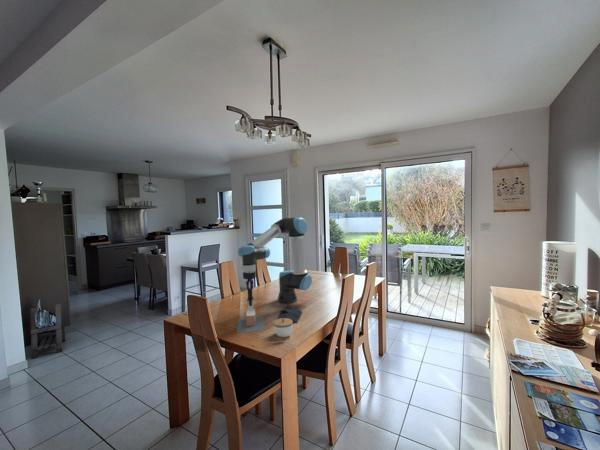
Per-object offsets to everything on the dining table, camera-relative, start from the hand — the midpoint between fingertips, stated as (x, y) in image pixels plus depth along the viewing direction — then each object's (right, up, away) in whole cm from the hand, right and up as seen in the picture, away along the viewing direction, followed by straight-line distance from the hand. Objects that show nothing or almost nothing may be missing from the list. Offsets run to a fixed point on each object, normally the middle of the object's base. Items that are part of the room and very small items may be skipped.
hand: (250, 310), depth 162 cm
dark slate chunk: (+23, -9, +14) cm, 28 cm away
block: (0, -6, -1) cm, 6 cm away
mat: (0, -10, +2) cm, 10 cm away
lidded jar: (+21, -10, -14) cm, 26 cm away
